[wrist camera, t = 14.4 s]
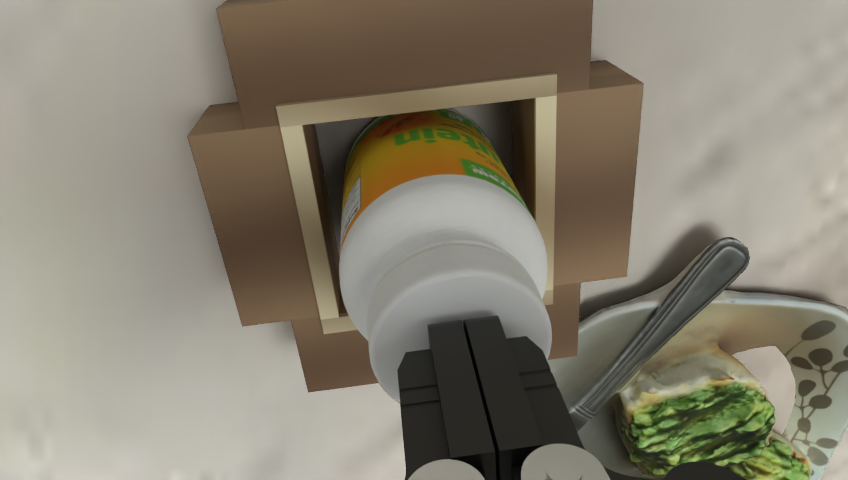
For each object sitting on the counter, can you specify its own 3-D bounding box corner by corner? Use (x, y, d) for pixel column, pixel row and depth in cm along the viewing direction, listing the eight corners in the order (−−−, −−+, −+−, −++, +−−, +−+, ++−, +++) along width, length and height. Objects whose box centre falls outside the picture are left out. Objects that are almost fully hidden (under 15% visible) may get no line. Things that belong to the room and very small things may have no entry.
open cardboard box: (182, -1, 18) (150, 16, 15) (612, -46, 19) (657, -38, 16) (273, 345, 24) (262, 402, 22) (592, 303, 25) (622, 353, 22)
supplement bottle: (515, 118, 21) (625, 263, 12) (472, 253, 23) (540, 452, 15) (359, 84, 20) (362, 218, 11) (331, 229, 22) (315, 430, 14)
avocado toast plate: (511, 206, 23) (544, 271, 19) (927, 230, 25) (1036, 292, 21) (445, 540, 32) (459, 633, 28) (757, 534, 34) (811, 617, 30)
